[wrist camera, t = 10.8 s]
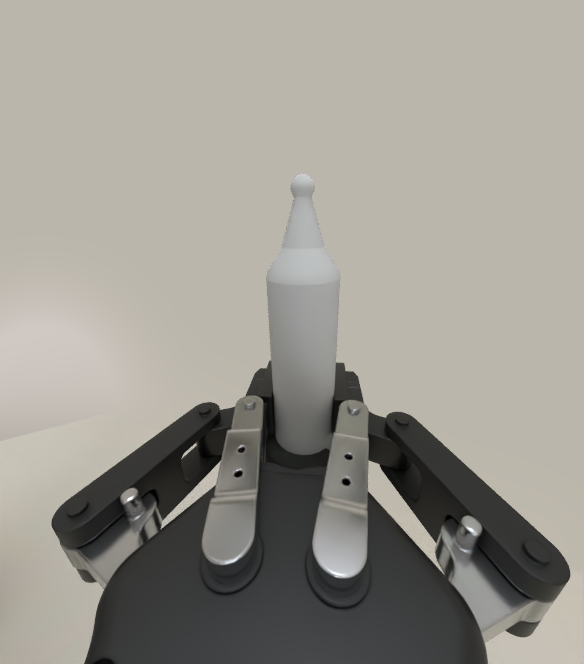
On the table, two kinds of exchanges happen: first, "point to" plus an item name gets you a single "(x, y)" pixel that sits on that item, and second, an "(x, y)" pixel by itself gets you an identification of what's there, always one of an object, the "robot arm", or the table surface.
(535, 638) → the table surface
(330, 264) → the candle
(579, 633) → the table surface
